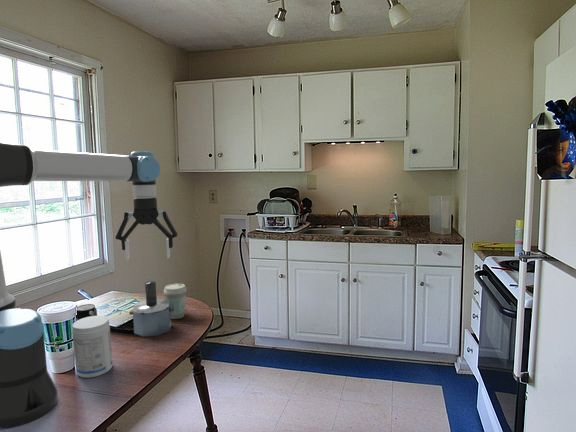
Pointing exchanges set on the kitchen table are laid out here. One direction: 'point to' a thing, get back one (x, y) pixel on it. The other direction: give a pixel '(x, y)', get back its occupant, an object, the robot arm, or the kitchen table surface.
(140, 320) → the pot
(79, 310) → the beverage can
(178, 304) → the coffee cup
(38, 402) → the robot arm
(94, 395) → the kitchen table surface
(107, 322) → the supplement tub
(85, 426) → the kitchen table surface
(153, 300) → the lid
